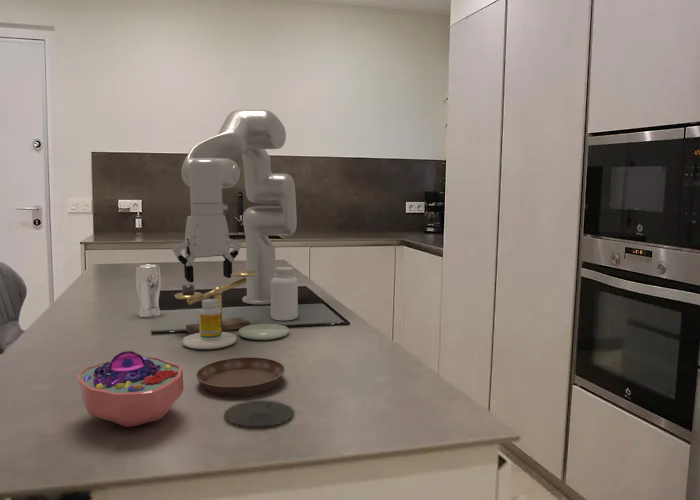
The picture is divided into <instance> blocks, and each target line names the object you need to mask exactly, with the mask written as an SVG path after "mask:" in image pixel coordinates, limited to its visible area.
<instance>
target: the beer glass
mask: <svg viewBox="0 0 700 500" xmlns="http://www.w3.org/2000/svg"><path fill="white" fill-rule="evenodd" d="M135 268H136V269H135V270H136V271H135V286H136V290H137V296H138V301H139V311H138V317H140V318H143V319H144V318H145V319H146V318H147V319H149V318H156V317H159V316H160V315H161V311H160V305H159V300H160V293H161V283H162V282H161V281H162V280H161V279H162V277H161V269H160V265H159V264H151V263H149V264H139V265H136V266H135Z"/></svg>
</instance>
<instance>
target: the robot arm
mask: <svg viewBox="0 0 700 500" xmlns="http://www.w3.org/2000/svg"><path fill="white" fill-rule="evenodd" d="M286 139H287V131H286V129H285V126H284V124H283V122H282V121H281V120H280V119H279V117H278V116H277V115H275V114H274V113H273V112H272V111H270V110H267V109H236V110H233V111H232V112H230V113H229V114H228V115H227V116H226V118H225V120H224V122H223V124H222V126H221V127H220V129H219V131H218V133H217V134H215V135H213V136H211V137H209V138H207V139H205V140H203V141H201V142H199V143H197V144H196V145H194V146H193V147H192V148H191V149H190V150H189V151H188V153H187V154H186V157H185V159H184V161H183V163H182V166H181V179H182V181H183V182H184V184H185V185H186V186H188V187H189V195H190V215H188V216H187V218H186V223H185V224H186V225H185V232H184V233H185V236H184V241H183V242H181V243H180V244H179V243H178V245H176V246H174V247H173V248H172V253H174V256H175V257H176V260H178V261H179V263H181V264H182V265H183V267H184V279H185V281H187V282H188V283H190V284H192V283H194V282H195V281H194V278H195V277H194V275H195V274H194V266H193V265H192V264H194V263H193V262H194V261H195V260H196V259H200V258H209V257H212V258H213V257H221V256H222V258H223V259H224V260H223V262H222V265H223V267H222V268H223V277H225V278H228V279H231V278H232V273H233V262H234V261H235V259H236V258H237V256H238V254H239V252H240V250H241V248H242V243H241V242H239V241H237V240H235V239H233V238H230V235H229V228H228V221H227V219H226V215H225V214H224V212H225V211H228V210H229V209H228V204H224V202H223V189H229V188H232V187H234V186H236V185H237V183H238V182H239V180H240V177H241V170H240V168H239V165H238V163H237V162H236V161H235V160H236V159H238V158H241V159H242V162H243V175H244V189H245V195H246V198H247V200H248V201H249V202H251V203H255V204H256V203H258V204H260V203H261V204H279V206H272V205H271V206H270V205H267V206H266V205H256V206H255V205H254V206H251V207H247V208H246V209H245V210H244V212H243V214H242V224H243V229H244V230H243V231H244V237H245V246H246V247H245V252H246V254H245V255H246V256H245V257H246V262H245V263H246V271H257V272H258V275H256V276H250V277H247V280H246V281H247V282H246V295H245V296H243V297H242V298H241V299H242V303H244V304H248V305H260V306H261V305H271V279H272V278H273V277H276V275H275V274H276V273H275V268H276V247H275V244H274V243H273V241H272V240H271V239H270V238H269V236H274V237H275V236H276V237H277V236H284V237H285V236H291V235H294V233H295V232H296V230H297V225H298V224H297V222H298V220H297V217H298V216H297V201H296V200H297V199H296V197H297V196H296V186H295V181H294V179H293V177H292V176H291V175H290V174H288V173H278V172H277V173H276V172H275V173H274V172H272V170H271V168H272V167H271V166H272V165H271V156H270V155H269V153H268V152H267V150H280V149H281V148H283V147H284V145H285V143H286ZM230 245H231V246H233V249H232V250H231V251H230V248H231V247H230ZM183 250H184V251H185V254H186V256H183V254H182V251H183Z"/></svg>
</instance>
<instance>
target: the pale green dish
mask: <svg viewBox="0 0 700 500" xmlns="http://www.w3.org/2000/svg"><path fill="white" fill-rule="evenodd" d="M289 332H290V330H289V327H287V326H286V325H282V324H277V323H257V324H250V325H248V326H245V327H242V328H240V329H238V336H240V337H242V338H245V339H249V340H253V341H254V340H255V341H270V340H276V339H279V338H283V337H285V336H287V335H288V334H289Z"/></svg>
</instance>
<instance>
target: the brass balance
mask: <svg viewBox="0 0 700 500" xmlns="http://www.w3.org/2000/svg"><path fill="white" fill-rule="evenodd" d="M256 275H258V272H257V271H247V270H236V271H232V274H231V276H233V277H236V278H237V277H239V278H241V277H243V278H241V279H238V280H236V281H234V282H231V283H228V284H226V285H223V286H215V287H214V288H213V290H211V291H207V292H204V293H202V292H198V291H195V285H194V284H192V283H190V284H182V286H181V290H182V291H181V292H177V293H175V294H174V298H175V299H177V300H186V303H187V304H188V305H189V306H191V305H194V304H196V303H198V302H202V300H205V299H210V298H211V297H213V299H217V300H218V303H219V305H218V306H217V307H218V308H220V309H221V327H222V332H226V331H233V330H239V329H240V328H242V327H245V326H248V325H251V322H250V321H249V320H247V319H246V318H242V317H235V318H228V319H223V301H222V300H223V299H222V294H223V292H226V291H229V290H231V289H234V288H236V287H240V286H242V285H244V284H247V277H250V276H256ZM185 330H186V332H188V333H190V335H191V334H195V333H200V322H199V323H191V324H186V325H185Z"/></svg>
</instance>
